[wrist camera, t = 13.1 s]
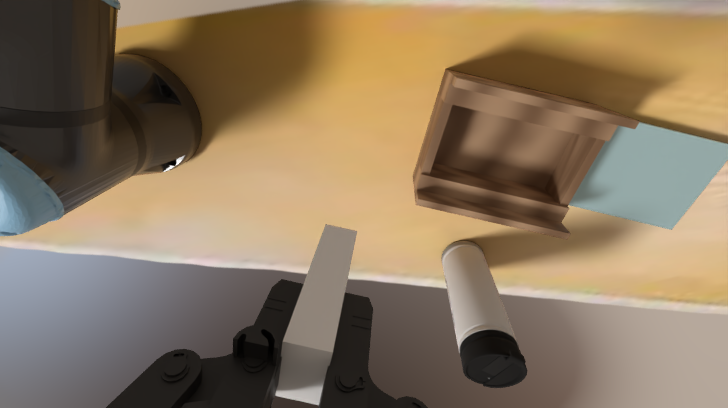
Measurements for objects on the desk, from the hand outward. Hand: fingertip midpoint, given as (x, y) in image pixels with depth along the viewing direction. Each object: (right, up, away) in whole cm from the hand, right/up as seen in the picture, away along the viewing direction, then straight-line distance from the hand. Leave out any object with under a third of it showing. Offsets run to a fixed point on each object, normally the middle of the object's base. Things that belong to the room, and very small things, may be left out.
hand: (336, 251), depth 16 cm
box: (+18, +10, +26) cm, 33 cm away
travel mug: (+16, -6, +35) cm, 39 cm away
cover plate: (+36, +7, +27) cm, 45 cm away
